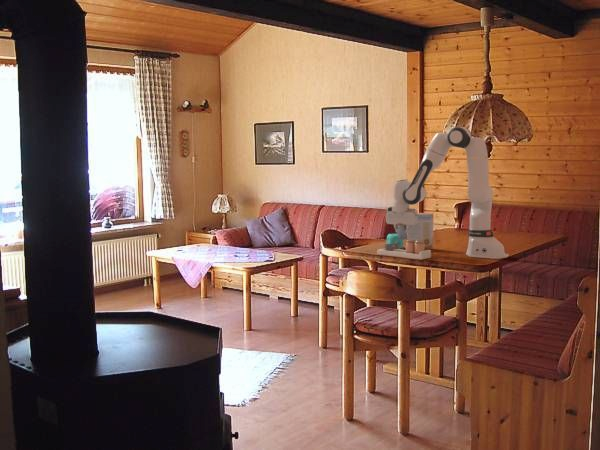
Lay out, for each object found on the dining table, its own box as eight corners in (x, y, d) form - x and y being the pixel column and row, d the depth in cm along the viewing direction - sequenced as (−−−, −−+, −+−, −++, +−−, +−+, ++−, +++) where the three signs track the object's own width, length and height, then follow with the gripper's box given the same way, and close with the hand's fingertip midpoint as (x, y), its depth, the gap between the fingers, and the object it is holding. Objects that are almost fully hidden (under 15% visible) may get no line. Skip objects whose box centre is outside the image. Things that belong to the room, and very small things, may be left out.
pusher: (398, 252, 396) (398, 242, 395) (387, 254, 388) (387, 244, 387) (395, 251, 397) (395, 241, 397) (384, 254, 389) (384, 244, 389)
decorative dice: (399, 246, 419) (399, 233, 418) (403, 248, 412) (403, 235, 411) (386, 247, 418) (386, 233, 417) (390, 249, 410) (390, 235, 410)
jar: (417, 256, 381) (417, 240, 380) (411, 257, 378) (412, 241, 377) (409, 255, 385) (409, 239, 384) (403, 256, 381) (403, 240, 380)
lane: (430, 257, 378) (430, 250, 378) (421, 259, 371) (421, 252, 371) (387, 252, 398) (387, 245, 397) (377, 254, 391) (377, 247, 390)
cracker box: (433, 248, 410) (433, 212, 408) (431, 250, 405) (432, 213, 402) (409, 247, 415) (409, 212, 413) (407, 249, 409) (407, 213, 407)
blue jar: (408, 238, 401) (408, 223, 400) (403, 239, 398) (403, 223, 397) (401, 238, 405) (400, 222, 404) (396, 239, 401) (395, 223, 400)
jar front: (426, 257, 378) (426, 241, 377) (420, 258, 374) (420, 242, 373) (417, 256, 381) (418, 240, 380) (412, 257, 377) (412, 241, 376)
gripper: (420, 208, 395) (420, 232, 396) (390, 207, 409) (391, 231, 410) (413, 209, 390) (414, 233, 391) (383, 208, 404) (384, 232, 405)
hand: (402, 232), depth 401 cm, fingers closed on blue jar, 5 cm apart
